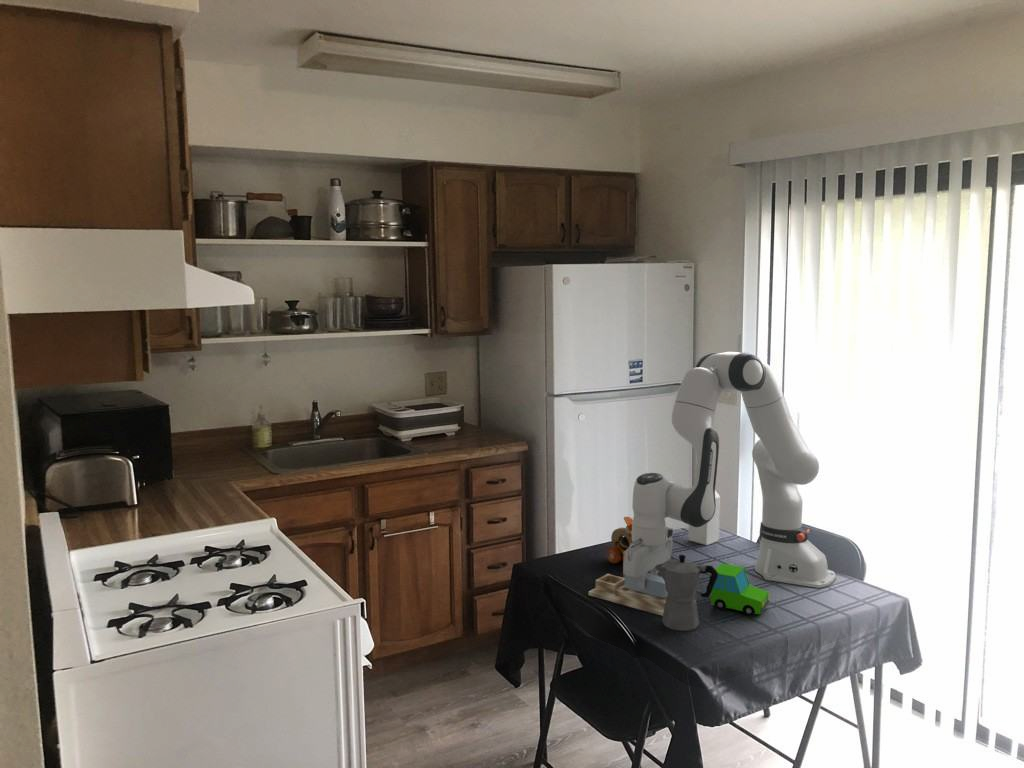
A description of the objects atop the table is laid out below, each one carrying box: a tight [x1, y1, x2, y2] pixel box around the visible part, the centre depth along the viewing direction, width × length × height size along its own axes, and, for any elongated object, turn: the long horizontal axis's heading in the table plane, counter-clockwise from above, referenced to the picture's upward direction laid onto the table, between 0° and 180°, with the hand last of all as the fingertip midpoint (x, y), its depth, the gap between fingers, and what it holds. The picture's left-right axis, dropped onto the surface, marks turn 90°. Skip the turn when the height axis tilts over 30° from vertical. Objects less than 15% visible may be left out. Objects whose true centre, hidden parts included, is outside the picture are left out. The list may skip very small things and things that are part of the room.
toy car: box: [710, 562, 771, 617], centre depth 221 cm, size 10×13×10 cm
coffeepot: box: [655, 554, 718, 632], centre depth 211 cm, size 15×9×18 cm, turn 80°
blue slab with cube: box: [625, 572, 668, 598], centre depth 226 cm, size 12×4×5 cm, turn 52°
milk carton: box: [687, 490, 721, 546], centre depth 275 cm, size 7×7×19 cm
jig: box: [588, 573, 668, 617], centre depth 229 cm, size 23×12×4 cm, turn 52°
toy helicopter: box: [606, 516, 633, 564], centre depth 252 cm, size 8×21×14 cm, turn 38°
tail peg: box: [622, 551, 626, 578], centre depth 242 cm, size 3×3×8 cm
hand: (647, 584), depth 226 cm, fingers closed on blue slab with cube, 4 cm apart
